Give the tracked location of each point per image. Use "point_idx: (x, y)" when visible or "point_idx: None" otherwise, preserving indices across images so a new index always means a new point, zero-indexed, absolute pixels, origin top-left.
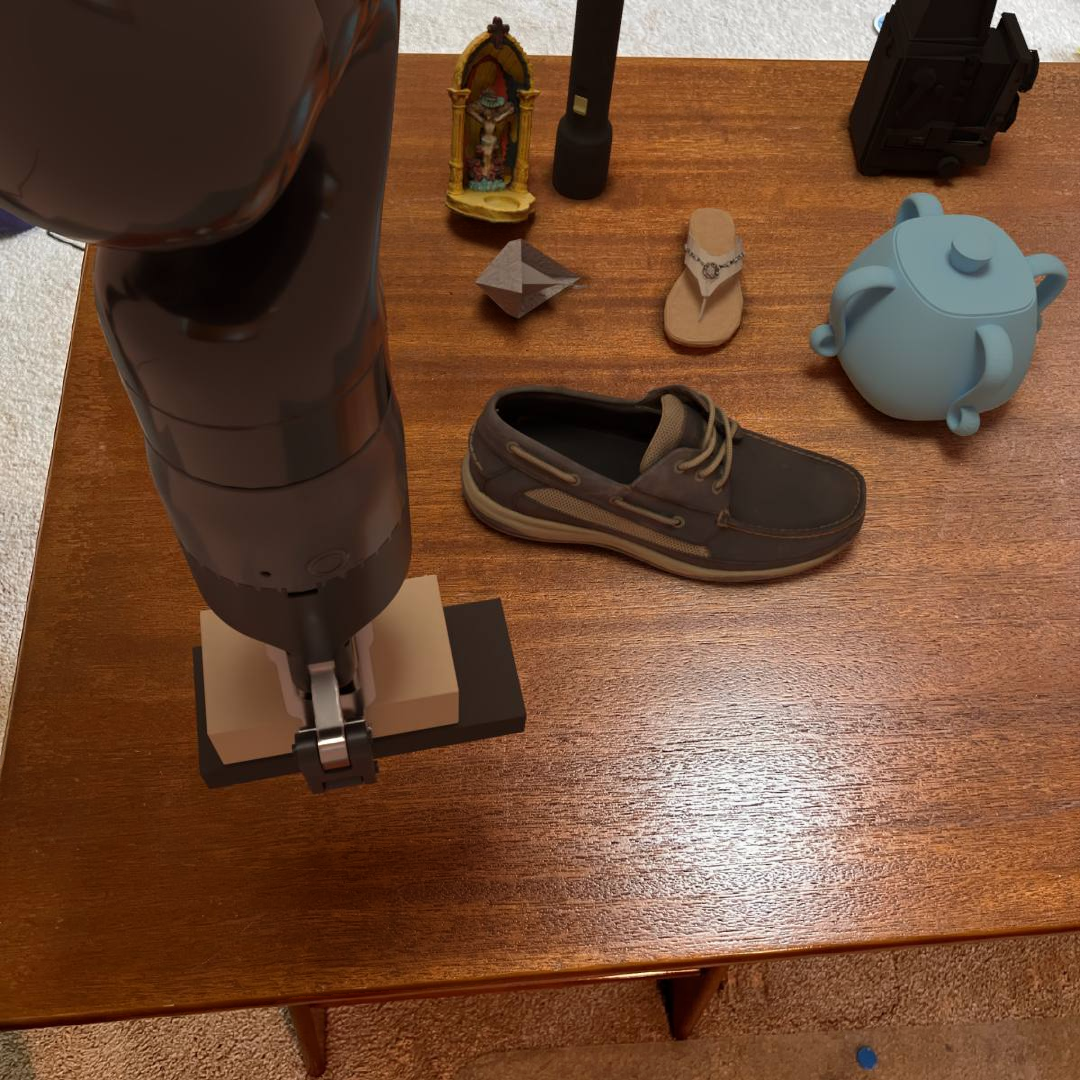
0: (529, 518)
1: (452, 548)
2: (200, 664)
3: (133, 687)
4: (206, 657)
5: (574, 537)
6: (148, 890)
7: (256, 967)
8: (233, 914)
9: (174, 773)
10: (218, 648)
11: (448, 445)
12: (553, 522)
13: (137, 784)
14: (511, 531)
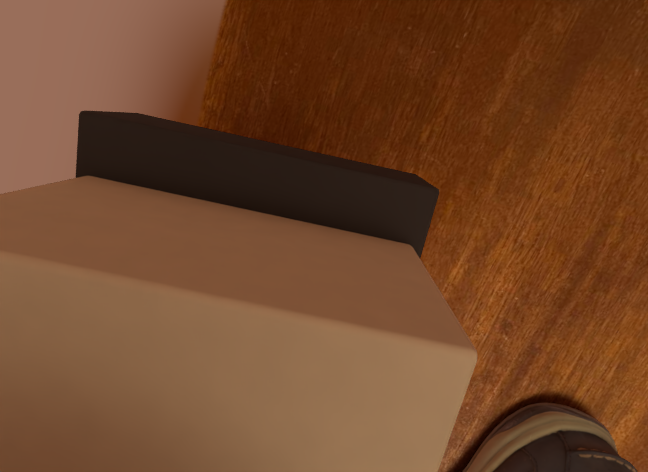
0: (508, 453)
1: (519, 368)
2: (379, 196)
3: (533, 48)
4: (237, 317)
5: (473, 469)
6: (327, 10)
7: (226, 86)
8: (277, 80)
9: (426, 64)
10: (260, 375)
11: (624, 404)
12: (493, 469)
13: (431, 26)
14: (507, 424)
